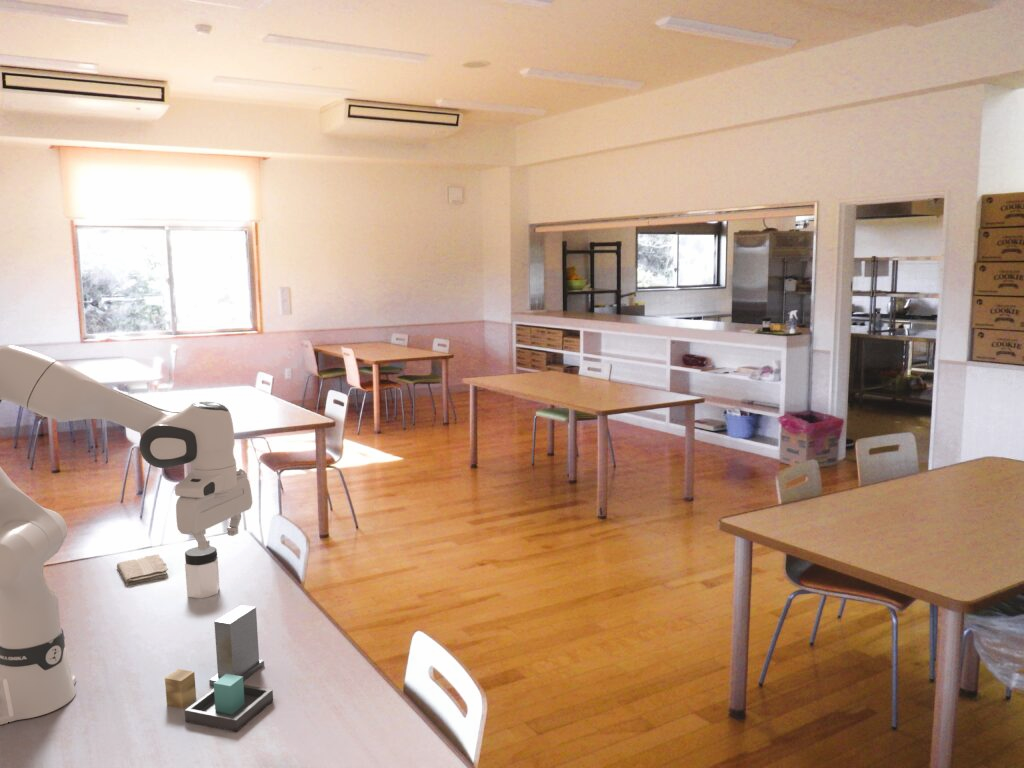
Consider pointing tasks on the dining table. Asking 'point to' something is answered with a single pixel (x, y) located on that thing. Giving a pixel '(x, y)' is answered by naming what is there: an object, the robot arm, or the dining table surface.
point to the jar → (202, 572)
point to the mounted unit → (237, 643)
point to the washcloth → (143, 570)
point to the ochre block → (180, 688)
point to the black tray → (207, 716)
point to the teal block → (229, 693)
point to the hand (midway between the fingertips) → (218, 541)
